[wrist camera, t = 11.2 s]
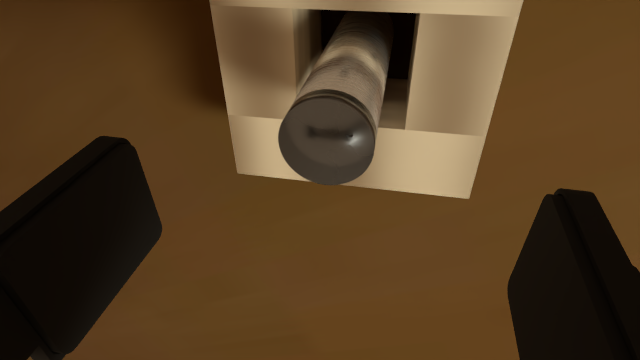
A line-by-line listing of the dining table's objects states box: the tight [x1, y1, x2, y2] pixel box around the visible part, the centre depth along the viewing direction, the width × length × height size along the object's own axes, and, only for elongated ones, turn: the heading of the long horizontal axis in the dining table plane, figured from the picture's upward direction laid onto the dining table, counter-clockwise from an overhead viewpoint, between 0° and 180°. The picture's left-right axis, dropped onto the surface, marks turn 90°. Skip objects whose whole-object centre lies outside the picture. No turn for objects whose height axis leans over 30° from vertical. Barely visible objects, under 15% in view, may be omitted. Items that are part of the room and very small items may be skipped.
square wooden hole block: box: [209, 0, 523, 199], centre depth 19 cm, size 12×12×6 cm
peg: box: [278, 11, 394, 185], centre depth 17 cm, size 3×3×12 cm
